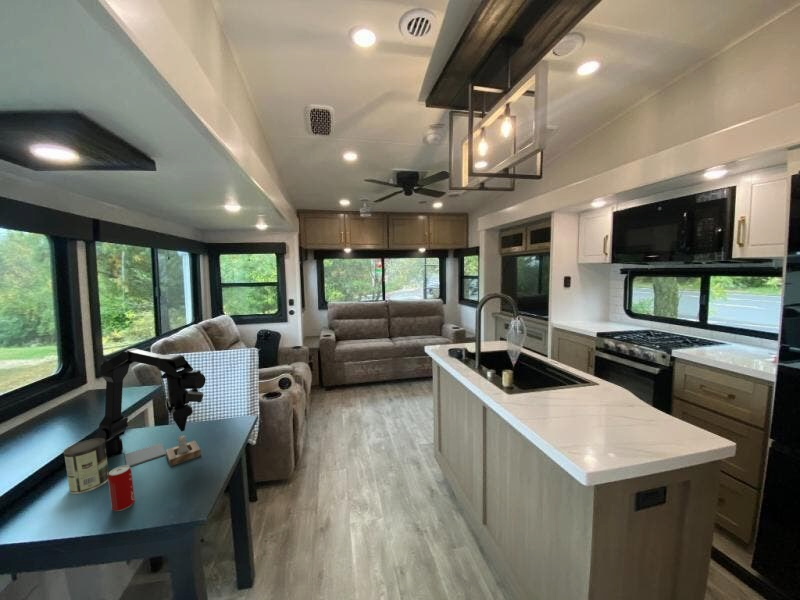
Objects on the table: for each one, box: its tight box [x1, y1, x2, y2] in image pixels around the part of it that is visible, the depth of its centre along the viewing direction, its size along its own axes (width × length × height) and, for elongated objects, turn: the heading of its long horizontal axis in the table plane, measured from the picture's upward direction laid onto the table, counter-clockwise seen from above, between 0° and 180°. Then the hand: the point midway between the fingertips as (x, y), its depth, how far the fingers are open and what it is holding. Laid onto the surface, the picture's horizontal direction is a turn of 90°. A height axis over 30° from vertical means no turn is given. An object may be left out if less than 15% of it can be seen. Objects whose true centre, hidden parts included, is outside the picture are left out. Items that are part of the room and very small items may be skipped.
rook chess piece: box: [176, 434, 190, 455], centre depth 129 cm, size 4×4×8 cm
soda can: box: [107, 464, 136, 512], centre depth 101 cm, size 6×6×12 cm
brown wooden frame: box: [165, 440, 202, 467], centre depth 129 cm, size 10×10×2 cm
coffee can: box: [62, 438, 110, 495], centre depth 112 cm, size 10×10×14 cm
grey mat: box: [124, 442, 166, 468], centre depth 130 cm, size 12×12×1 cm
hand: (180, 427), depth 128 cm, fingers open, 9 cm apart
